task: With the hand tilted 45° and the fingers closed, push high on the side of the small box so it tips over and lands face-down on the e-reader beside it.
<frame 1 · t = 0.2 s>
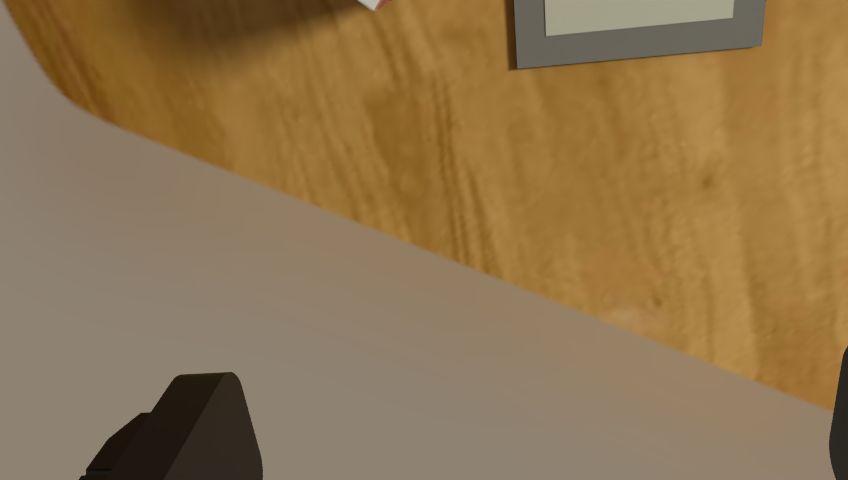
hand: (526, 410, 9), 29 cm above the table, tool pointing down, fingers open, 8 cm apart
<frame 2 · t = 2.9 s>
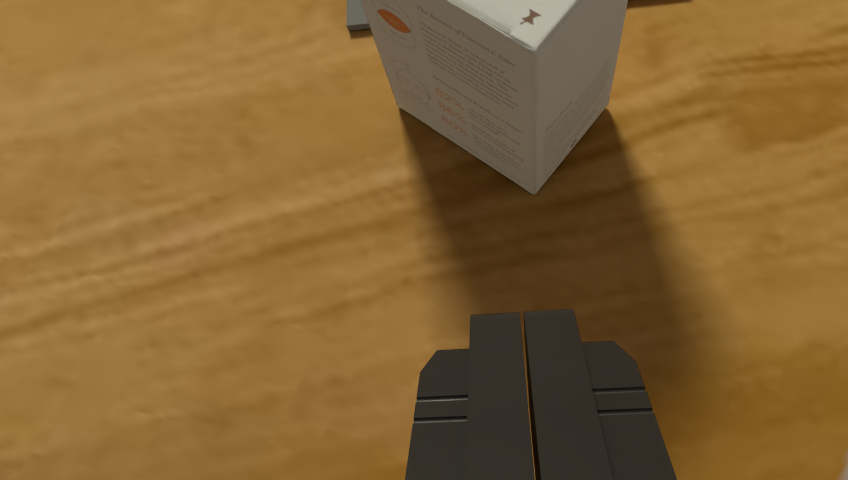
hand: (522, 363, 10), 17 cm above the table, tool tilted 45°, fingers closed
small box: (499, 109, 31), on the table
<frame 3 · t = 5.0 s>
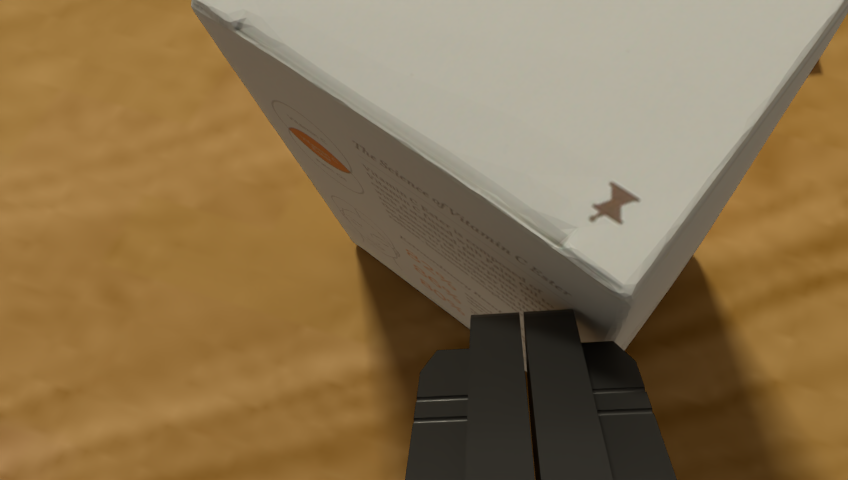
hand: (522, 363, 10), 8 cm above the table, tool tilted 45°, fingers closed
small box: (515, 248, 19), on the table, touching gripper
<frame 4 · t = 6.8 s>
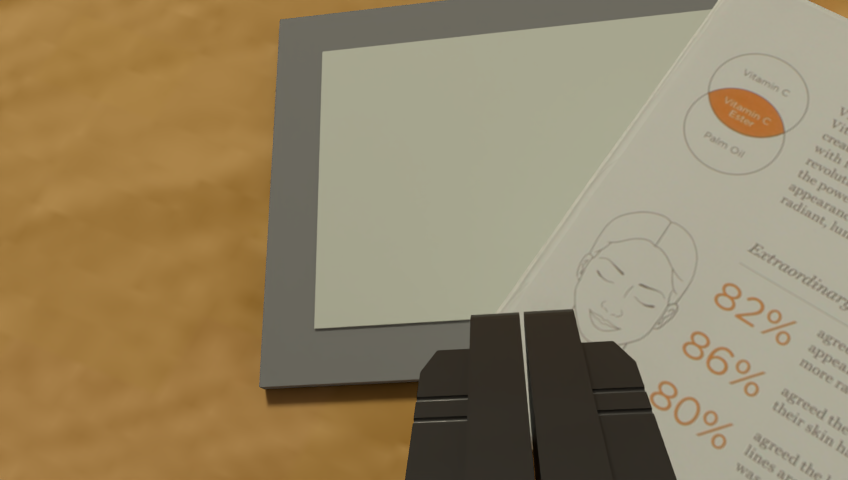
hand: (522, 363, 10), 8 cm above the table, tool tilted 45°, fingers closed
e-reader: (540, 167, 20), on the table
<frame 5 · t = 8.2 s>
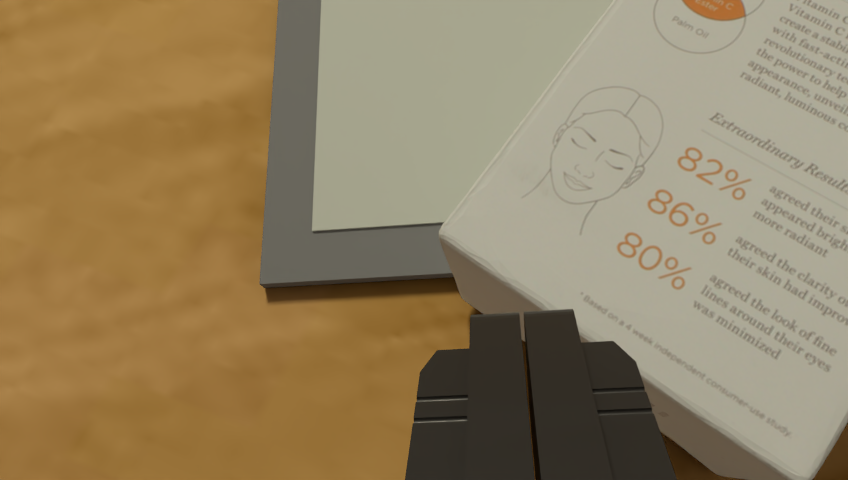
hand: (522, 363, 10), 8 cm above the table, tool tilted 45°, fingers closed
e-reader: (527, 86, 21), on the table
small box: (581, 377, 15), point 3 cm above the table, touching e-reader
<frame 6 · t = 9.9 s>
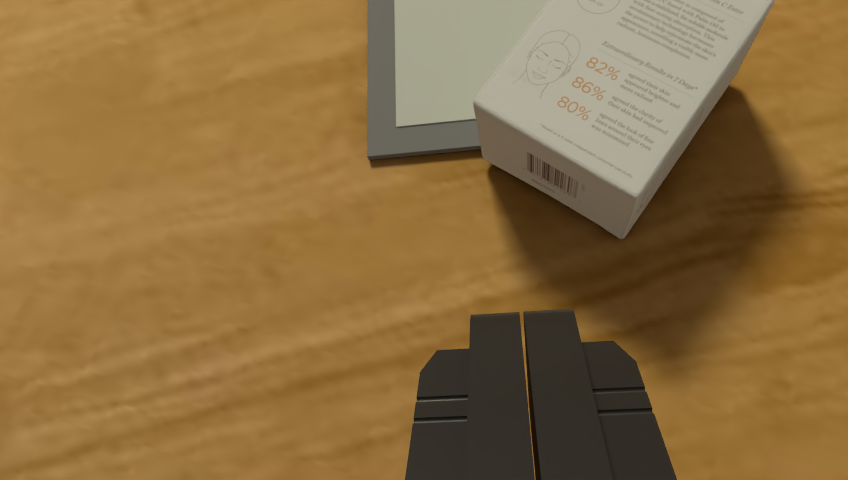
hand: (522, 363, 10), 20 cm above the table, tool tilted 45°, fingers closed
e-reader: (518, 43, 36), on the table
small box: (545, 179, 30), point 3 cm above the table, touching e-reader
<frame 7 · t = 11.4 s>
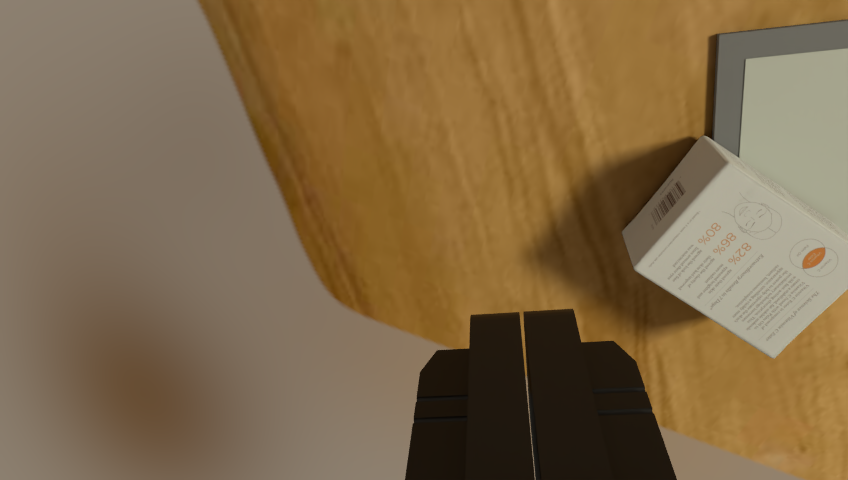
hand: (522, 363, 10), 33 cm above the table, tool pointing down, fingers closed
e-reader: (813, 158, 41), on the table
small box: (665, 197, 40), point 3 cm above the table, touching e-reader
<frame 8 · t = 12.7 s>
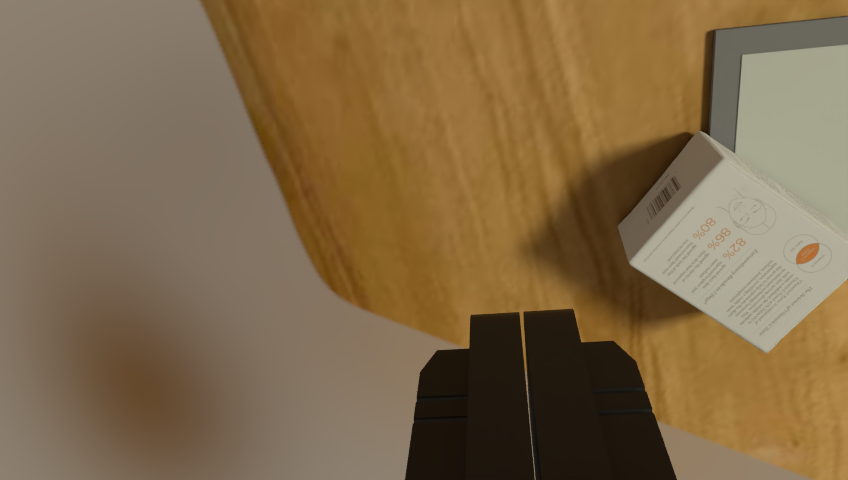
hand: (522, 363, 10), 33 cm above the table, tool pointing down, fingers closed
e-reader: (808, 154, 42), on the table
small box: (661, 192, 40), point 3 cm above the table, touching e-reader
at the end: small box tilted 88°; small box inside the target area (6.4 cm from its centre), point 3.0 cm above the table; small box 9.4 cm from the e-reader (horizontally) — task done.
